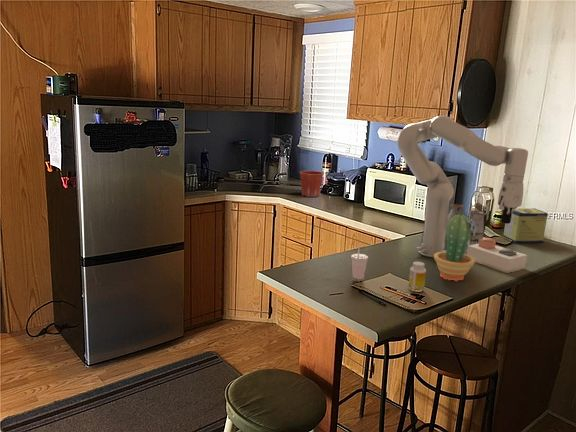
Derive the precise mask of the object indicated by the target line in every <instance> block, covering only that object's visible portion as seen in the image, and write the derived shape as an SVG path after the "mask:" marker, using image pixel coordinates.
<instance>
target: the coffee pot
mask: <svg viewBox="0 0 576 432" xmlns="http://www.w3.org/2000/svg"><path fill="white" fill-rule="evenodd" d="M450 207H451V209H450V211H449V212H448V221H447V223H448V222H449V220H450V219H451V218H452V217H454V216H455V215H458V214H459V215H460V216H462V215H464V212H463V208H464V205H463V204H459V203H451V204H450Z"/></svg>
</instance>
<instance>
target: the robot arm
mask: <svg viewBox="0 0 576 432" xmlns="http://www.w3.org/2000/svg"><path fill="white" fill-rule="evenodd" d="M436 138H439V139H441V140H443V141H446V142H447V143H449V144H451V145H453V146H455V147H457V148H459V149H460V150H461V151H462V152H465V153H466V154H468V155H470V156H472V157H473V158H475V159H477V160H479V161H481V162H483V163H484V164H487V165H488V166H492V167H498V166H500V165H503V164H504V171H503V175H502V176H503V177H502V183H501V186H500V190H499V194H498V198H497V199H498V200H497V205H498V210H499V211H500V210H501V213H502V215H501V220H500V222H501V223H503V224H505V223H506V224H508V223H510V222H511V216H512V214H513V211H514V209H516V208H519V207H521V206H522V204H523V198H524V179H525V173H526V168H527V162H528V158H529V157H528V156H529V151H528V149H525V148H519V147H518V148H517V147H507V146H504V145H503V146H502V145H494V144H492V143H490V142H488V141H486V140H484V139H482V138H481V137H479V136H478V135H477V134H476V133H475V132H474V131H473V130H471V129H470V128H468V127H466V126H464V125H461V124H460V123H458V122H456V121H455V120H452V118H451V117H449V116H448V115H438V116H435V117H433V118H431V119H427V120H423V121H420V122H415V123H410V124H407V125H406V126H404V127H403V128H402V130H401V131H400V133H399V136H398V138H397V146H398V150H399V152H400V154H401V156H402V158H403V160H404V161H405V163H406V164H407V166H408V168H409V169H410V171H411V172H412V174H413V176H414V177H415V179H416V180H417V182H418V183H419V184H421V185H426V186H427V188H428V191H427V193H426V196H425V216H424V226H423V235H422V243H420V246H416V247H415V248H414V251H415V252H418V253H419V254H420V255H421V256H424V257H429V258H434V254H435V253H437V252H444V251H446V250H445V245H446V239H447V237H446V228H447V221H448V214H449V207H450V205H449V204H450V201H451V199H453V197H454V195H455V190H454V187H453V185H452V183H451V181H450V180H449V178H448V177H447V175H446V174H445V172H444V171H443V169H442V167H441V166H440V165H439V164H438V162H437V163H436V162H435V161H433V160H432V161H431V160H429V158H428V157H427V156H426V154H425V152H424V151H423V150H422V148H421V147H420V146H419V143H422V142H425V141H427V140H432V139H436Z"/></svg>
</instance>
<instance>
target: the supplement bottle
mask: <svg viewBox="0 0 576 432" xmlns="http://www.w3.org/2000/svg"><path fill="white" fill-rule="evenodd" d="M426 275H427V269H426V268H425V263H424V262H422V261H413V263H412V266H411V267H410V268H409V276H408V288H409V287H410V288H411V289H414V290H424V291H425V286H426V285H425V284H426V278H427V277H426Z"/></svg>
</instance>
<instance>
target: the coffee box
mask: <svg viewBox="0 0 576 432" xmlns="http://www.w3.org/2000/svg"><path fill="white" fill-rule="evenodd" d="M487 216H488V215H487V213H485V211H483V210H469V217H468V219H471V220H473V221H474V223H475V225H476V228H477V231H476V233H475V235H474V236H473V230H472V232H471V237H470V239H469V241H468V243H467V244H466V245H467V247H468V246H469V245H474V244H479V240H480V239H483V238H485V232H486V225H487V218H488V217H487Z"/></svg>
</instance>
